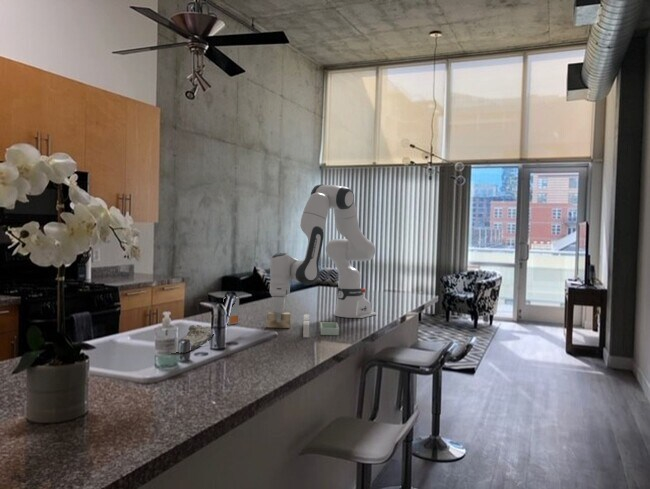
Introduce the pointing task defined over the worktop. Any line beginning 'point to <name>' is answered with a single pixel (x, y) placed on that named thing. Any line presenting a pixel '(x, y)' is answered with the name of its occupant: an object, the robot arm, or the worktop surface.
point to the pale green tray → (329, 328)
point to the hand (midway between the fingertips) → (279, 320)
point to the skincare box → (234, 312)
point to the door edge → (306, 326)
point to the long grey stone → (198, 335)
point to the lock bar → (274, 324)
